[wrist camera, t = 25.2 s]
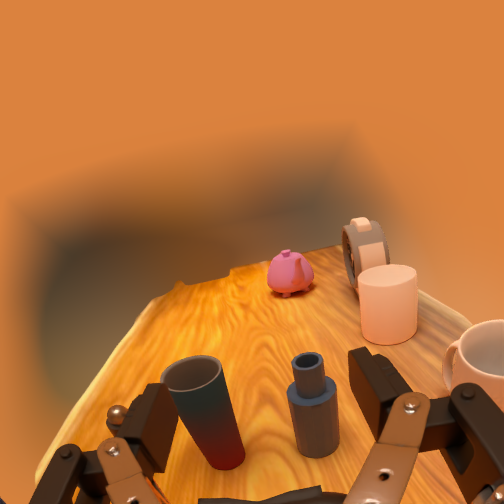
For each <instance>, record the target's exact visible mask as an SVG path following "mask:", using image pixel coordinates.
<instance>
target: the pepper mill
mask: <svg viewBox="0 0 504 504" xmlns="http://www.w3.org/2000/svg"><path fill="white" fill-rule="evenodd" d="M127 411H129V410H128V409H127V408H125V407H124V406H121V405H114V406H112V407H111V408H110V409H109V410H108V413H107V417H108V418H107V421H106V425H107V427H108V428H109V430H110V431H111V433H112V434H113V436H114V437H115V436H116V434H117V432H118V430H119V428H120V426H121V423H122V421H123V419H124V417H126V416H125V415H126V413H127Z"/></svg>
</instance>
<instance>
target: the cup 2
mask: <svg viewBox="0 0 504 504" xmlns="http://www.w3.org/2000/svg"><path fill="white" fill-rule="evenodd" d="M358 289H359V300H360V312H361V327H362V335H363V337H364V338H365V339H366V340H368V341H370V342H372V343H375V344H379V345H393V344H398V343H401V342H404V341H406V340H408V339H409V338H411V337H412V336H413V335H414V334H415V332H416V330H417V272H416V270H415V269H413V268H412V267H410V266H406V265H396V264H395V265H394V264H392V265H382V266H377V267H373V268H370V269H367V270H365V271H363V272H362V273H361V274H360V275H359V276H358Z"/></svg>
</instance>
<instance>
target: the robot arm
mask: <svg viewBox="0 0 504 504" xmlns="http://www.w3.org/2000/svg"><path fill="white" fill-rule="evenodd" d="M348 364H349V382H350V386H351V390H352V392H353V394H354V396H355V398H356V400H357V402H358V404H359V407H360V409H361V411H362V413H363V415H364V417H365V419H366V421H367V423H368V425H369V427H370V429H371V432H372V434H373V436H374V438H375V440H376V442H375V443H374V445H373V447H372V449H371V451H370V453H369V455H368V457H367V459H366V461H365V463H364V465H363V467H362V469H361V471H360V473H359V475H358V477H357V479H356V481H355V482H354V484H353V486H352V488H351V490H350V491H349V493H348V495H347V494H343V493H336V492H322V489H321V485H319V486H314V487H309V488H304V489H299V490H293V491H289V492H286V493H283V494H280V495H278V496H275V497H272V498H269V499H266V500H262V501H247V500H239V499H232V498H199V499H198V504H400V502H401V499H402V497H403V494H404V492H405V489H406V487H407V484H408V481H409V479H410V476H411V473H412V470H413V467H414V464H415V461H416V458H417V455H418V453H420V452H426V451H432V450H438V449H439V450H440V452H441V454H442V456H443V457H444V459H445V461H446V463H447V465H448V467H449V469H450V471H451V473H452V474H453V476H454V478H455V480H456V482H457V484H458V486H459V488H460V490H461V492H462V494H463V496H464V498H465V500H466V502H467V504H504V413H503V411H502V410H501V409H500V408H499V407H498V406H497V404H496V403H495V402H494V401H493V400H492V399H491V398H490V396H489V395H488V394H487V393H486V392H485V391H484V390H483V389H482V387H480V386H479V385H477V384H475V383H468V382H467V383H462V384H459V385H457V386H456V387H455V388H454V389H453V390H452V392H451V395H450V396H449V397H444V398H438V399H429V398H428V397H427V396H426V395H424V394H422V393H419V392H413V391H412V389H411V388H410V387H409V385H408V384H407V383H406V381H405V380H404V379H403V377H402V376H401V375H400V373H399V372H398V371H397V370H396V368H395V367H393V364H392V363H391V362H390V361H389V359H388V358H386V357H384V356H382V355H380V354H377V355H373V356H372V355H371V353H370V352H369V350H368V349H367V348H366V347H365V346H364V347H361V348H357V349H354V350H350V351H348ZM128 410H129V411H127V413H126V415H125V416H126V417H124V419H123V421H122V423H121V426H120V428H119V430H118V432H117V434H116V436H115V437H113V438H109V439H107V440H105V441H103V442H102V443H101V444H100V445H99V446H98V449H97V450H94V451H87V452H82V451H81V449H80V448H79V447H78V446H77V445H75V444H66V445H63V446H61V447H60V448H58V449H57V450H56V452H55V454H54V455H53V457H52V459H51V461H50V463H49V465H48V467H47V468H46V470H45V472H44V474H43V476H42V478H41V480H40V482H39V484H38V486H37V488H36V490H35V492H34V494H33V496H32V498H31V500H30V503H29V504H73V502H72V497H73V494H74V492H75V489H76V487H77V486H78V487H79V488H80V491H79V494H78V496H77V499H76V502H75V504H110V500H111V502H112V504H170V502H169V501H168V499H167V498H166V497H165V495H164V494H163V492H162V491H161V489H160V488H159V486H158V485H157V483H156V481H155V480H154V479H153V475H154V473H164V472H165V468H166V464H167V460H168V456H169V453H170V449H171V445H172V441H173V437H174V434H175V430H176V426H177V423H178V410H177V407H176V405H175V403H174V401H173V398H172V396H171V394H170V392H169V389H168V387H167V385H166V384H165V383H152V384H148V385H147V386H146V388H145V390H144V393H143V395H139V396H138V397H136V398H135V399H134V400H133V401H132V403H131V405H130V407H129V409H128Z"/></svg>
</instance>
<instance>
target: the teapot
mask: <svg viewBox="0 0 504 504" xmlns="http://www.w3.org/2000/svg"><path fill="white" fill-rule="evenodd" d="M313 279H314V273H313V270H312V267H311V266H310V264H309V263H308V261H307V260H306V259H305V258H304V257H303V256H302V255H301V254H300V253H295V252H293V253H290V250H283V251H281V254H279V255H277V256H276V257H274V258H273V260H272V262H271V264H270V267H269V270H268V274H267V283H268V286H269V287H270V288H271V289H273V290H274V291H276V292H279V293H283V297H284V298H286V297H290V296H291V292H295V291H299V290H301V291H303V292H306V291H309V290H310V289H309V288H308V286H309V285H310V284H311V282H312V281H313Z"/></svg>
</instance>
